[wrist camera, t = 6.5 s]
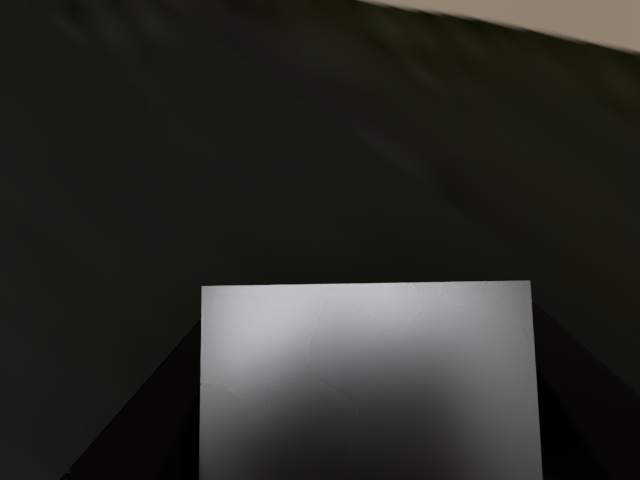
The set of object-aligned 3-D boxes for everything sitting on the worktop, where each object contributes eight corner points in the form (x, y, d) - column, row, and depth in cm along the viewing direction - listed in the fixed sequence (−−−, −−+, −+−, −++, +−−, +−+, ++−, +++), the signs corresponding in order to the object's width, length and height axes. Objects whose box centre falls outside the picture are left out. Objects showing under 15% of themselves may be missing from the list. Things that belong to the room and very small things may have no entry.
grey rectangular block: (436, 419, 16) (550, 597, 6) (300, 418, 16) (196, 585, 6) (431, 294, 16) (529, 267, 6) (299, 295, 17) (202, 274, 7)
